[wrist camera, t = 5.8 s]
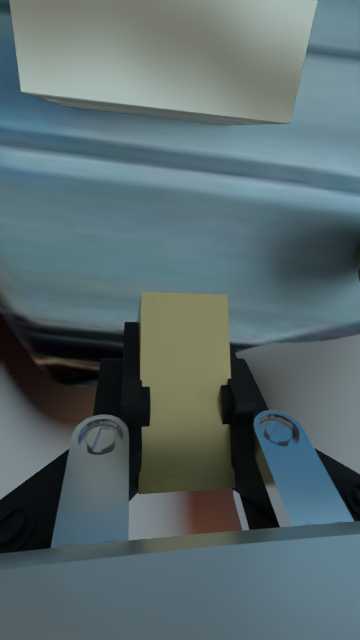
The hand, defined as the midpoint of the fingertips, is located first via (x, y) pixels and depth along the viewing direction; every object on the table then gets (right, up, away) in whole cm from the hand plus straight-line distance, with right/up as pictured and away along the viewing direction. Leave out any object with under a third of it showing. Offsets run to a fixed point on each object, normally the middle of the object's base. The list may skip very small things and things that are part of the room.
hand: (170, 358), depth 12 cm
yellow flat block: (0, -1, +2) cm, 3 cm away
